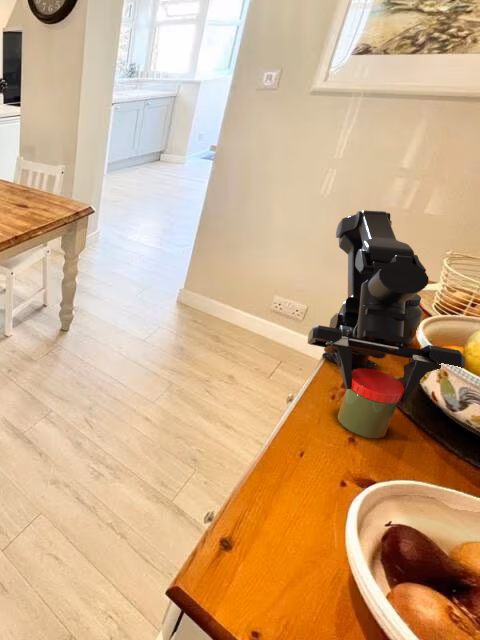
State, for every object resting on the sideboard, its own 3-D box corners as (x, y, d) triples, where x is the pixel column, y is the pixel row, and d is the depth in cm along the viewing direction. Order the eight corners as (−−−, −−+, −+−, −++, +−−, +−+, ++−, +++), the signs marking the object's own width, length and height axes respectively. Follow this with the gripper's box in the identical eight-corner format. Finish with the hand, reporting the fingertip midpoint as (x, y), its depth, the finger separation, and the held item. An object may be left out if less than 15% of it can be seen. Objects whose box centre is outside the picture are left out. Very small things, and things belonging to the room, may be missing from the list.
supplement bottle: (380, 328, 96) (395, 284, 91) (418, 343, 90) (437, 296, 85) (362, 336, 94) (376, 292, 89) (400, 352, 88) (417, 305, 83)
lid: (361, 401, 68) (364, 393, 67) (339, 374, 74) (341, 366, 73) (412, 405, 66) (415, 396, 65) (385, 377, 72) (388, 369, 71)
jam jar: (353, 406, 77) (367, 366, 73) (395, 431, 71) (412, 389, 67) (328, 417, 75) (341, 376, 72) (368, 443, 70) (384, 400, 66)
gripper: (437, 332, 74) (434, 417, 70) (307, 310, 84) (298, 383, 81) (467, 317, 65) (465, 414, 61) (317, 295, 76) (308, 376, 72)
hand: (374, 395), depth 69 cm, fingers closed on lid, 6 cm apart
